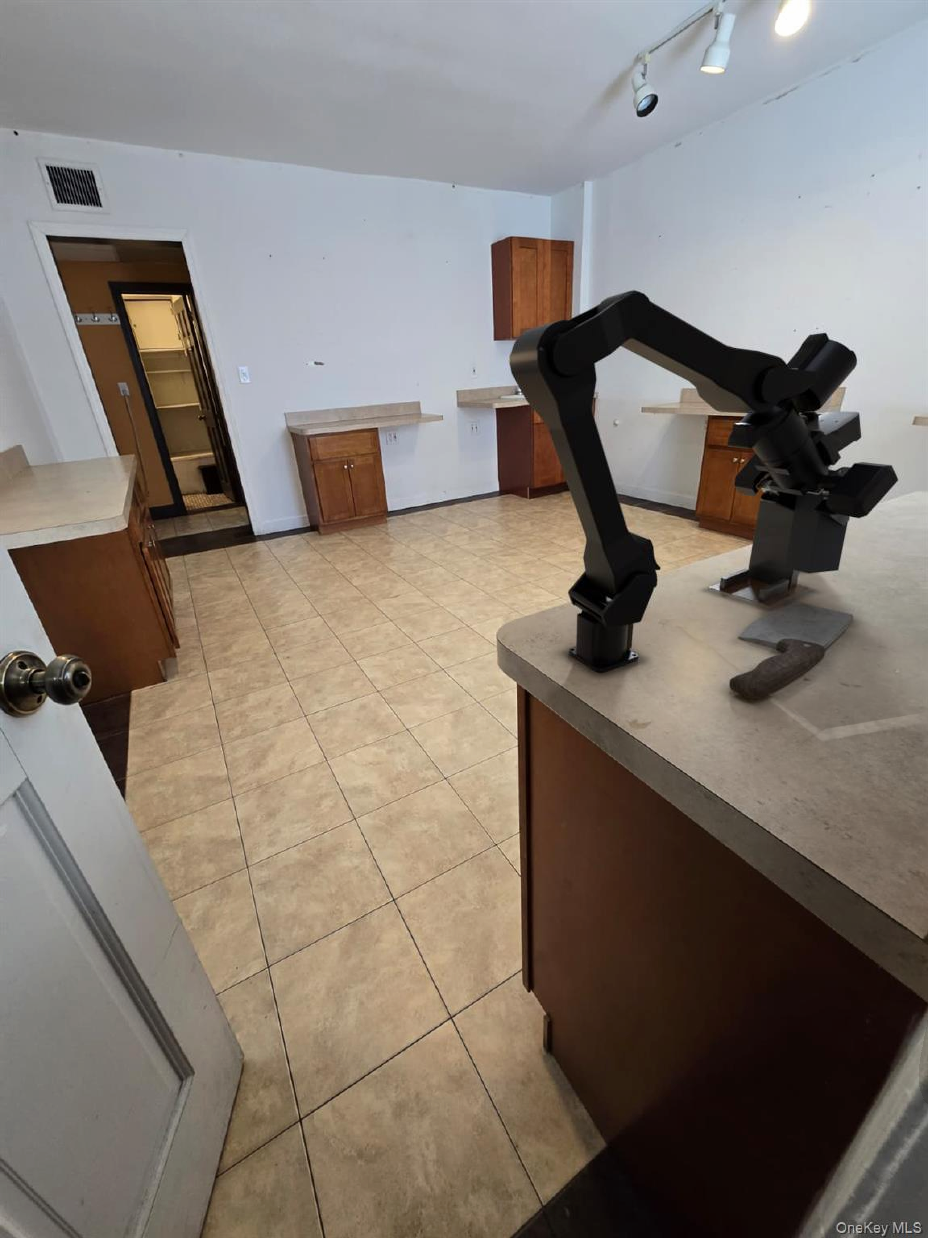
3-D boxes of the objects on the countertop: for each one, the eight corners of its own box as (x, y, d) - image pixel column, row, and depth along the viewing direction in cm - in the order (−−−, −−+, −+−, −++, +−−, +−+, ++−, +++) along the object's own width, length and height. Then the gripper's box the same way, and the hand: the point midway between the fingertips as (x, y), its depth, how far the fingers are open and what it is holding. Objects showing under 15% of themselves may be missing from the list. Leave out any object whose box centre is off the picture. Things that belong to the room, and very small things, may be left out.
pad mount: (768, 609, 75) (786, 518, 70) (707, 590, 83) (719, 507, 78) (809, 590, 80) (828, 504, 75) (748, 574, 88) (761, 495, 83)
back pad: (808, 573, 69) (826, 474, 65) (784, 567, 73) (800, 473, 69) (838, 570, 70) (857, 472, 66) (813, 564, 74) (830, 471, 70)
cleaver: (778, 712, 53) (783, 695, 52) (687, 679, 60) (689, 664, 59) (856, 621, 71) (860, 607, 70) (779, 603, 77) (781, 590, 76)
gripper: (912, 387, 54) (950, 482, 61) (764, 389, 70) (809, 464, 77) (837, 473, 55) (884, 555, 62) (709, 455, 71) (758, 522, 79)
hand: (829, 519), depth 70 cm, fingers closed on back pad, 4 cm apart
